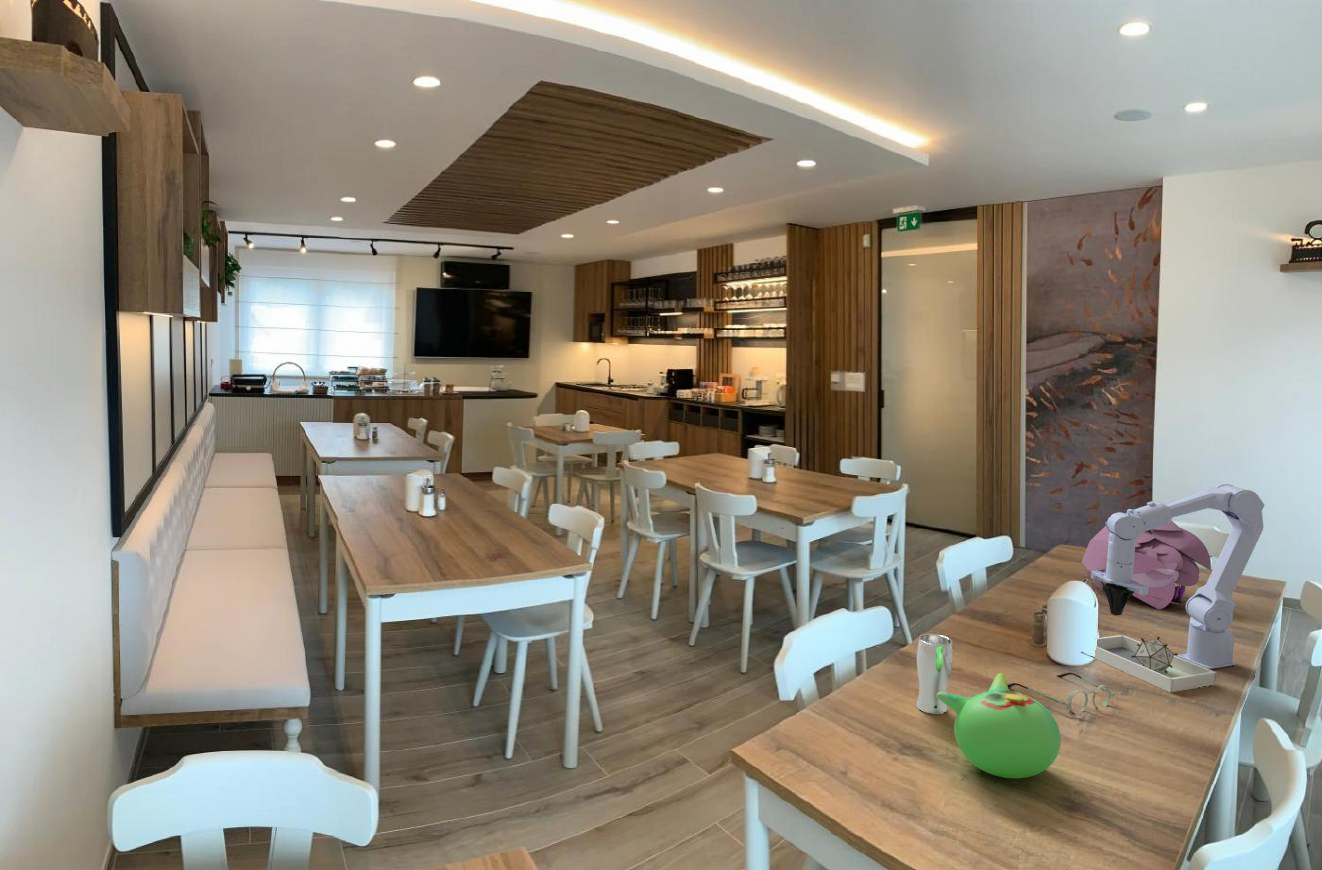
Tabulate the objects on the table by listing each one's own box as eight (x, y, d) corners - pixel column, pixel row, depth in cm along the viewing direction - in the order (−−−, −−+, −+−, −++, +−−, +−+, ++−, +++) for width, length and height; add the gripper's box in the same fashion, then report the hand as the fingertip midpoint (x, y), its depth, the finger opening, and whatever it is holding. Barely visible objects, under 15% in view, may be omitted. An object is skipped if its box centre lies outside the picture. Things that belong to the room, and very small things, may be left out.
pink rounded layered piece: (1205, 618, 230) (1228, 530, 229) (1191, 621, 213) (1216, 526, 212) (1082, 581, 255) (1103, 502, 254) (1061, 581, 238) (1083, 496, 237)
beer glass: (948, 703, 158) (952, 635, 157) (949, 718, 152) (954, 647, 150) (914, 698, 160) (917, 631, 159) (913, 712, 154) (917, 643, 152)
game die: (1161, 689, 175) (1188, 667, 169) (1124, 672, 177) (1149, 650, 171) (1158, 660, 182) (1184, 637, 175) (1123, 644, 184) (1147, 621, 177)
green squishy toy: (1003, 805, 122) (1008, 720, 121) (928, 755, 137) (932, 678, 136) (1078, 782, 129) (1085, 701, 128) (999, 736, 145) (1004, 664, 143)
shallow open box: (1121, 646, 193) (1122, 634, 192) (1215, 685, 170) (1216, 672, 170) (1079, 651, 188) (1080, 640, 188) (1170, 692, 166) (1171, 679, 165)
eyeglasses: (1061, 718, 153) (1062, 695, 153) (1002, 687, 168) (1004, 666, 167) (1118, 705, 160) (1120, 683, 159) (1057, 677, 174) (1059, 656, 173)
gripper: (1083, 555, 190) (1079, 606, 192) (1134, 570, 177) (1130, 625, 178) (1104, 553, 192) (1100, 604, 194) (1156, 568, 179) (1152, 623, 180)
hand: (1116, 614), depth 186 cm, fingers closed
